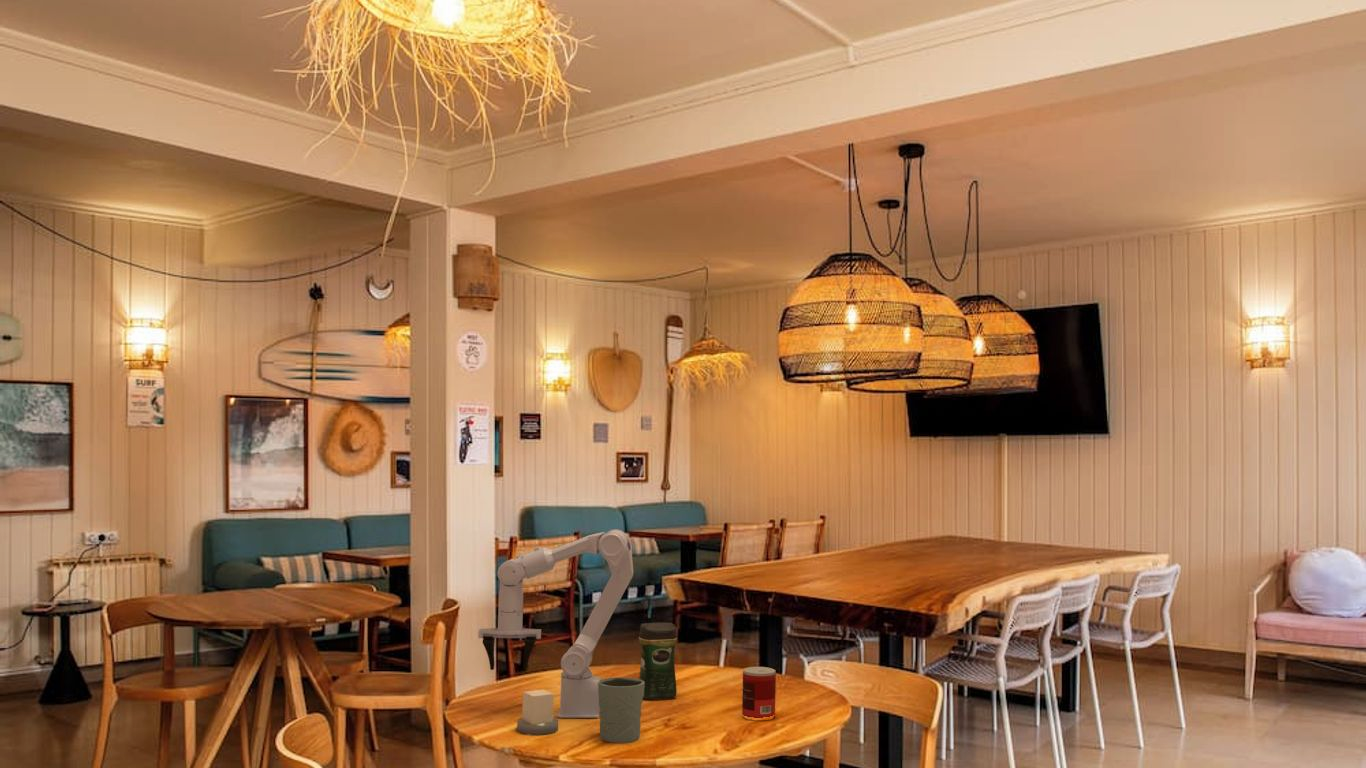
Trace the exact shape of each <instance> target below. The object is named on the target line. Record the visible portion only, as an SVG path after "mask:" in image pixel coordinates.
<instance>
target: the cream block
mask: <svg viewBox="0 0 1366 768" xmlns="http://www.w3.org/2000/svg"><path fill="white" fill-rule="evenodd" d="M554 695H555V694H554V693H552V692H550V691H548V690H545V689H537V690H536V689H535V690H529V691H522V710H521V711H522V712H521V713H522V715H521V718H522V720H524V721H526V722H528V723H530V724H539V723H546V722H553V717H554V698H555V697H554Z"/></svg>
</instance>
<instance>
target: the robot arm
mask: <svg viewBox="0 0 1366 768" xmlns="http://www.w3.org/2000/svg"><path fill="white" fill-rule="evenodd" d="M629 539H630V538H629V537H628V535H627V534H626V533H625V532H624V531H623V530H621V529H618V528H615V529H614V528H613V529H610V530H608V531H607V532H605V531H601V532H597V533H593V534H589V535H587V536H584V537H580V538H578V539H577V540H574V541H572V542H569V543H567V544H564V545H561V546H559V547H556V548H555V549H550V548H548V547H545V546H544V547H540V546H536V547H534V548H533V551H530V552H528V553H524V554H523V555H521V554H517V555H515V556H514V557H515V558H512V559H508V560H506V561H504V562H503V563H501V564H500V566H499V567H498V570H497V578H498V580H499V591H498V609H497V611H498V612H497V613H498V615H497V627H494V628H493V627H491V628H479V629H478V634H477V635H478V637H477V638H478V639H482V644H483V647H484V649H485V652H486V654H487V658H488V662H489V669H490V671H493V670H494V669H495V645H496V644H495V643H496V639H524V658H523V667H522V668H523V669H522V670H523V671H527V669H528V663H529V659H530V655H531V652H532V651H533V648H534V646H535V644H536V641H537V640H541V638H542V629H541V628H540V629H538V628H537V629H536V628H525V627H523V617H524V616H523V615H524V614H523V613H524V579H527V580H529V579H532V578H535V577H537V576H539V575H542V574H545V573H548V572H550V571H552V570H554V567H555V566H556V563H558V562H561V561H565V560H567V559H570V558H573V557H576V556H578V555H582V554H584V553H589V554H593V555H598V554H601V556H602V557H603V559H604V560H606V562H607V565H608V568H609V571H610V573H611V576H610V577H609V580H608V581H607V583H606V585H605V587H604V589H603V590H602V592H601V594H600V595H599V598H598V600H597V602H596V603H595V605H594V607H593V609H592V611H591V613H590V615H589V617H587V618H588V619H587V620H586V622H585V624H584V626H583V627H582V629H581V631H580V633H579V635H578V637H577V638H576V640H575V642H574V644H572V646H570V647H569V648H568V650H567V652H564V654H563V656H561V659H560V668H561V670H562V672H561V674H560V675H561V676H560V698H559V699H560V700H559V701H560V702H559V703H560V705H559V708H558V712H557V718H559V719H560V718H561V719H562V718H565V719H566V718H568V719H574V718H576V719H577V718H579V719H580V718H582V719H583V718H584V719H585V718H588V719H589V718H590V719H592V718H593V719H594V718H595V719H596V718H600V706H599V693H598V681H599V680H601V676H599V675H593V672H592V671H591V669H590V668H589V667H590V665H591V664H592V662H593V654H594V649H595V648H596V646H597V644H598V642H599V639H600V638H601V636H602V634H603V633H604V630H605V629H606V627H607V625H608V623H609V622H610V619H611V617H612V615H613V614H614V612H615V610H616V608H617V606H618V605H619V603H620V600H622V597H623V595H624V593H625V592H626V589H627V588H628V586H629V584H630V583H631V580H632V579H633V576H634V560H633V553H632V552H633V550H632V549H633V546H632V543H631V542H630V540H629Z"/></svg>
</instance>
